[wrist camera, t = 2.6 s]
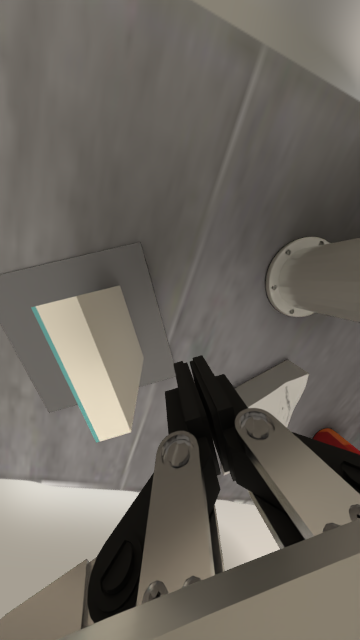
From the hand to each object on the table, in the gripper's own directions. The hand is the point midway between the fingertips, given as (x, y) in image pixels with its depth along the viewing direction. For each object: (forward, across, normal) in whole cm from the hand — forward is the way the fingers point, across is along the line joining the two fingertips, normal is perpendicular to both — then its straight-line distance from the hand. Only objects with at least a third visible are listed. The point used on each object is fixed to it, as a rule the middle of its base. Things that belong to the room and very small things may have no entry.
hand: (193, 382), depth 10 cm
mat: (+19, +12, 0) cm, 22 cm away
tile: (+18, +7, 0) cm, 20 cm away
